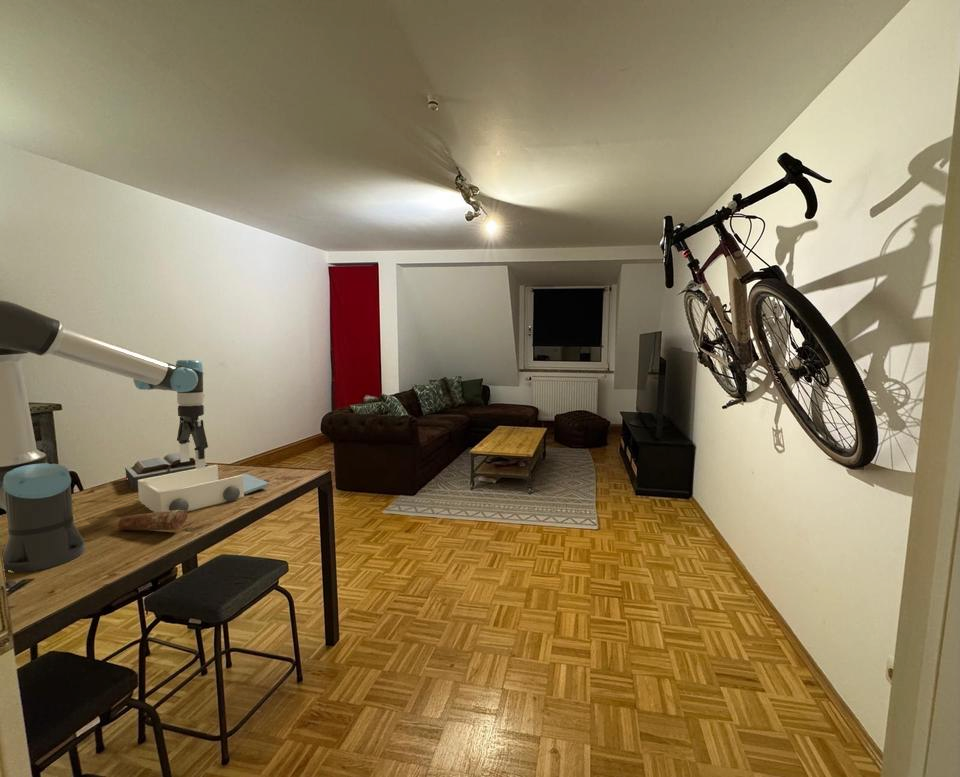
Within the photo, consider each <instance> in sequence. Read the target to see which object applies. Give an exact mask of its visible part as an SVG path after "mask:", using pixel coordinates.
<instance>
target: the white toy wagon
mask: <svg viewBox="0 0 960 777" xmlns="http://www.w3.org/2000/svg"><path fill="white" fill-rule="evenodd" d="M137 492H138V502H139V501H140V502H141V503H142V504H144V505H145V506H146V507H148V508H149V511H152V512H153V513H154V512H163V511H173V510H186V511H187V512H189V511H190V512H191V511H194V510H198V509H202V508H206V507H210V506H214V505H218V504H223V503H226V502H228V503H229V502H230V503H231V502H235V501H236V500H238V499H241V498H245V494H244V484H243V475H241V474H239V476H238V475H235V476H231V477H226V478H222V479H219V466H218V464H214V465H208V467H205V468H200V469H192V470H187V471H182V472H177V473H171V474H166V475H161V476H156V477H151V478H145V479H140V480H138V491H137ZM141 503H140V504H141ZM142 504H141V505H142ZM145 506H144V507H145ZM146 507H145V508H146ZM148 508H147V509H148Z"/></svg>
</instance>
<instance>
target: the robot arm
mask: <svg viewBox="0 0 960 777" xmlns="http://www.w3.org/2000/svg"><path fill="white" fill-rule="evenodd" d="M29 353H31V354H34V355H37V356H41V357H43V356H46V355H52V356H55V357H59V358H62V359H65V360H69V361H71V362H75V363H79V364H83V365H86V366H89V367H93V368H95V369H99V370H102V371H106V372H109V373H113V374H117V375H120V376H123V377H126V378H130V379H132V381H133V383H134V386H135V387H136V388H137V389H139V390H140V391H141V390H142V391H145V390H147V391H151V390H159V391H160V390H161V391H172V392H173V391H174V392H176V396H177V397H176V399H177V400H176V403H177V404H178V406H177V416H178V417H179V425H178V431H177V437H176V441H177V442H178V443H179V453H180V462H187V461H190V456H191V455H190V454H191V453H190V442H191V441H190V437H191V436H192V440H193V442H194V443H193V444H194V446H195V447H194V457H195V466H196V469H200V468H205V463H206V449H208V448H209V445H208V440H207V436H206V431H205V428H204V425H205V424H204V420H203V419H199V417H201V416H204V414H205V408H204V406H205V405H204V404H203V403H204V397H205V394H204V369H203V363H202V361H201V360H199V359H178V360H176V362H175V364H173V363H169V362H166V361H164V360H161V359H157V358H156V357H152V356H149V355H146V354H143V353H141V352H138V351H135V350H133V349H129V348H126V347H124V346H121V345H117V344H116V343H115V344H114V343H112V342H109V341H106V340H104V339H100V338H98V337H94V336H92V335H89V334H87V333H82V332H80V331H76V330H74V329H72V328H69V327H65V326H63V323H62V322H61V321H60V320H57V319H55V318H53V317H50V316H48V315H44V314H42V313H40V312H37V311H35V310H32V309H29V308H27V307H24V306H22V305H19V304H18V303H14V302H10V301H6V300H0V509H3V510H4V511H5V512H6V520H7V529H8V530H7V531H8V538H7V541H6V544H5V546H4V550H3V552H2V555H1V557H2V556H3V563H4V569H5V572H4V573H7V574H9V573H8V570H11V571H13V572H14V573H13V574H26V573H33V572H38V571H43V570H46V569H49V568H53V567H56V566H60V565H63V564H65V563H68V562H70V561H73V560H74V559H76V558H78V557H79V556H81V555H82V554H83V553H84V552H85V550H86V545H85V543H86V542H85V540H84V538H83V536H82V535H81V533H80V531H79V530H78V527H77V526H76V525H75V521H74V512H73V511H74V509H73V498H72V497H73V496H72V487H71V486H72V477H71V475H70V471H69V469H68V468H67V467H66V466H65V465H62V464H59V463H48V460H47V459H48V458H47V454H46V453H45V452H43V451H41V450H39V449H38V448H37V442H36V438H35V433H34V427H33V426H34V425H33V421H32V416H31V415H32V414H31V409H30V405H29V399H28V394H27V387H26V383H25V382H26V381H25V376H24V372H23V365H22V360H23V359H25V358H26V357H27V356H28V355H29Z"/></svg>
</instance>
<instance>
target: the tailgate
mask: <svg viewBox="0 0 960 777" xmlns="http://www.w3.org/2000/svg"><path fill="white" fill-rule="evenodd" d="M239 475H243V484H244V495H246V494H249V493H252V492H254V491H257V490H261V489H264V488H266V487H268V486H270V483H269V482H268V481H265V480H263V479H260V478H259V477H256V476H252V475H250V474H247V473H242V474H239ZM239 475H237V476H239Z"/></svg>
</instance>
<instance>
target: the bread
mask: <svg viewBox="0 0 960 777" xmlns="http://www.w3.org/2000/svg"><path fill="white" fill-rule="evenodd" d="M187 518H188V511H186V510H173V511H163V512H154V511H153V512H150V513H149V512H148V513H139V514H132V515H126V516H124V517H121V519H120V520H119V521H118V524H117V527H118V530H121V531H176V530H179V528H180V527H181V526H183V525H184V524H185V522H186V521H187Z"/></svg>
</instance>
